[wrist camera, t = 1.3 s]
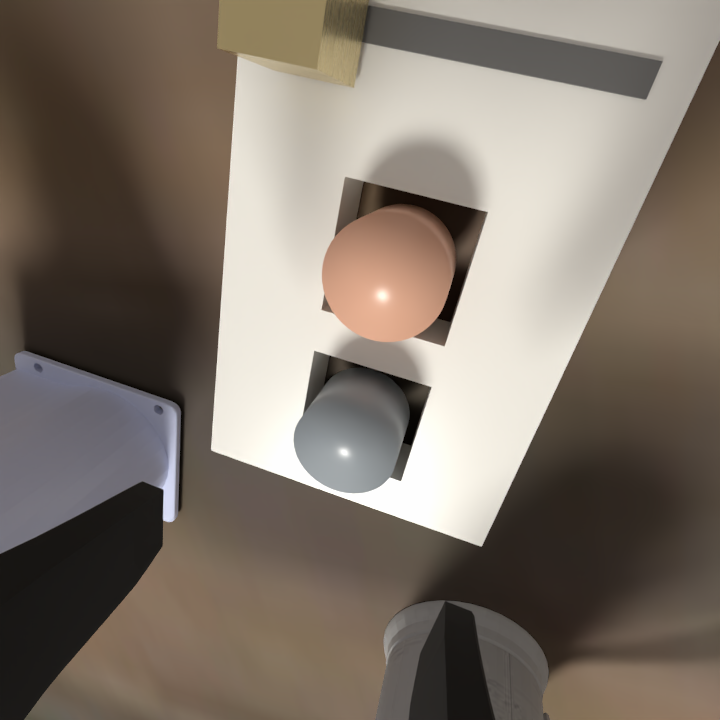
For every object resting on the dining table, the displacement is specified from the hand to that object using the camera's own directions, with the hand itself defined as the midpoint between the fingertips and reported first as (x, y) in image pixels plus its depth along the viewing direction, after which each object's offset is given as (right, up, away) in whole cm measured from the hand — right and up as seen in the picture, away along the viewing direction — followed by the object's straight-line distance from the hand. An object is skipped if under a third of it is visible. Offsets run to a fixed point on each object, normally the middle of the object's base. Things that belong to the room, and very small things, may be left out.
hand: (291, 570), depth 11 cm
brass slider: (+1, +14, +1) cm, 14 cm away
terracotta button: (+3, +8, +4) cm, 10 cm away
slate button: (+2, +3, +7) cm, 8 cm away
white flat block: (+3, +9, +6) cm, 11 cm away
